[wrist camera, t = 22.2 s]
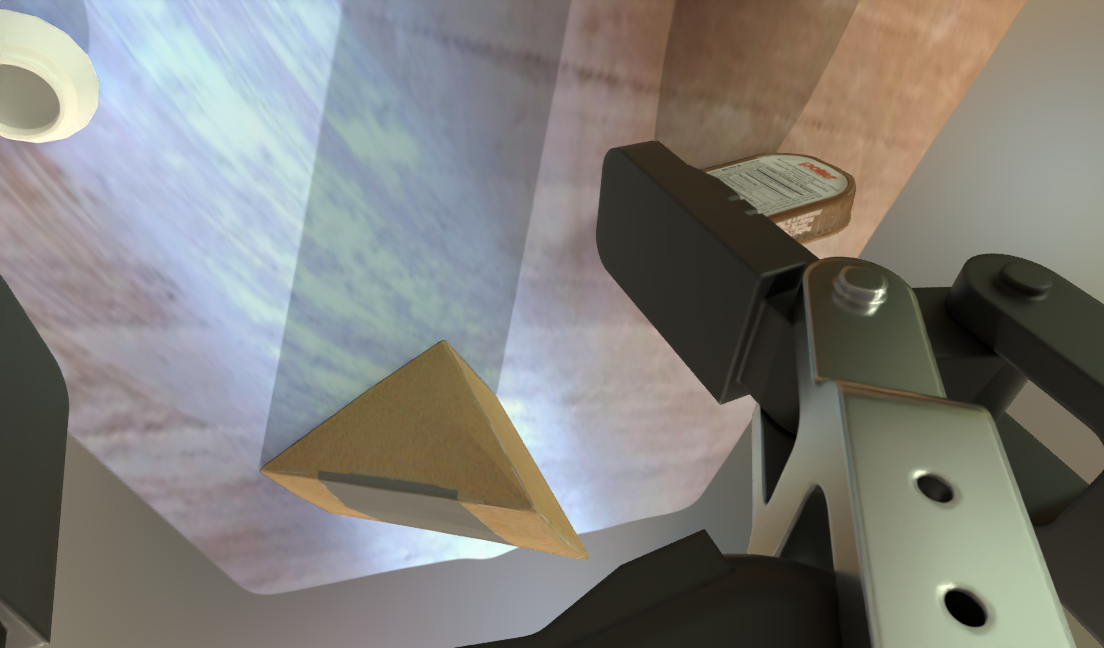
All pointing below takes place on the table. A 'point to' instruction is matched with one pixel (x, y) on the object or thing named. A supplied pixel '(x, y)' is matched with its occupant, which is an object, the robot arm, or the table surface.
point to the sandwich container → (430, 461)
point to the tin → (793, 192)
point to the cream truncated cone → (42, 81)
